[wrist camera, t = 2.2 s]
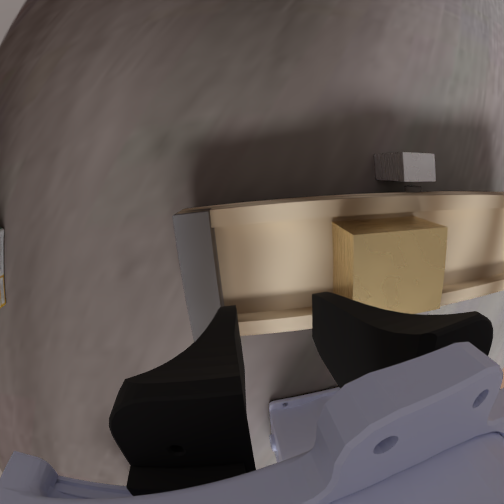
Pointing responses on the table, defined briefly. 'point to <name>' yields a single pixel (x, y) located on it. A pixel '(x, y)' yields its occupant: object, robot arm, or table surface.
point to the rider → (390, 262)
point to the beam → (320, 251)
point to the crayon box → (2, 270)
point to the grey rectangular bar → (405, 169)
